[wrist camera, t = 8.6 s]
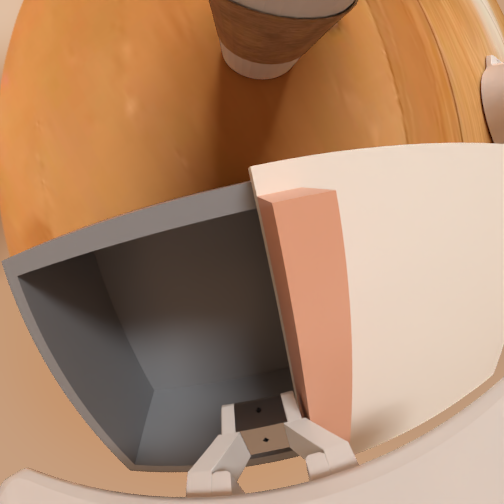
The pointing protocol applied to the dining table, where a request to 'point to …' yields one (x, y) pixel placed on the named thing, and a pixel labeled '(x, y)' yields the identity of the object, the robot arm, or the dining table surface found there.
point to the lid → (386, 280)
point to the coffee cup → (272, 31)
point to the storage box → (159, 323)
